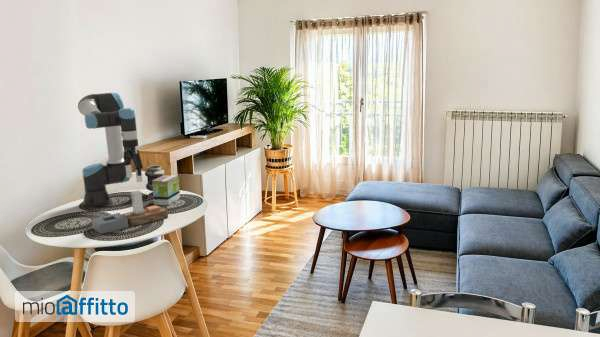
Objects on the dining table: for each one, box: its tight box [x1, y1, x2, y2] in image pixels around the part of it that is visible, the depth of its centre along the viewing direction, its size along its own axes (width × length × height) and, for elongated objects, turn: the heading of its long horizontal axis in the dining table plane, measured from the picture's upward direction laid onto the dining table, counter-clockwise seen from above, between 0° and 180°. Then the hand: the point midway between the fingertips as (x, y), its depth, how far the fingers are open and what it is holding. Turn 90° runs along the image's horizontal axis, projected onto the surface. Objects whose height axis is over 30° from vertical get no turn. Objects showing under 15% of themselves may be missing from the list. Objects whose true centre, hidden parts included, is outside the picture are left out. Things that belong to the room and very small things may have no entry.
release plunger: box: [145, 204, 159, 213], centre depth 258 cm, size 5×5×5 cm
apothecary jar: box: [144, 164, 165, 197], centre depth 302 cm, size 12×12×18 cm
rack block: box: [91, 212, 129, 235], centre depth 244 cm, size 12×14×5 cm
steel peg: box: [130, 190, 144, 216], centre depth 252 cm, size 4×4×16 cm
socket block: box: [122, 205, 169, 227], centre depth 256 cm, size 12×20×4 cm, turn 130°
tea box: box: [152, 174, 181, 206], centre depth 286 cm, size 15×10×15 cm, turn 168°
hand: (134, 179), depth 249 cm, fingers open, 13 cm apart
